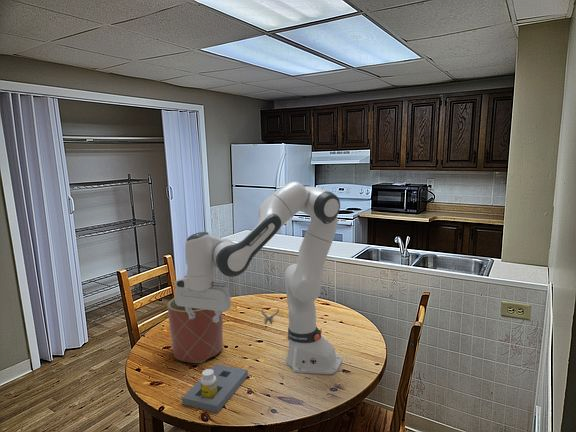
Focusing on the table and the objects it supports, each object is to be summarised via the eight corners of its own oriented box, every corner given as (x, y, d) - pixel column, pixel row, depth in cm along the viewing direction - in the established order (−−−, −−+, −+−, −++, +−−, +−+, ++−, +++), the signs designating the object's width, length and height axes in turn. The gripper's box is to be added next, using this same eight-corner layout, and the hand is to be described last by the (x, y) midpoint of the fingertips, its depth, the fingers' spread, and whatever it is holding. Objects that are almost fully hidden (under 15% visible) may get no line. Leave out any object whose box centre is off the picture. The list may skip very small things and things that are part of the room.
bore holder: (247, 375, 140) (247, 369, 140) (217, 413, 120) (217, 406, 120) (216, 369, 145) (215, 363, 145) (182, 404, 125) (181, 397, 125)
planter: (203, 370, 145) (199, 314, 141) (159, 359, 154) (155, 306, 151) (234, 344, 165) (232, 294, 162) (194, 335, 175) (191, 288, 171)
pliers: (277, 306, 205) (284, 321, 186) (277, 308, 206) (284, 323, 186) (260, 308, 204) (265, 323, 184) (260, 310, 204) (265, 325, 184)
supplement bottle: (198, 398, 128) (197, 372, 127) (212, 391, 132) (210, 365, 130) (207, 405, 124) (205, 378, 123) (220, 397, 128) (219, 371, 127)
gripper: (233, 280, 121) (235, 320, 123) (181, 275, 128) (184, 313, 130) (223, 286, 115) (226, 328, 117) (170, 281, 122) (173, 320, 124)
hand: (204, 320), depth 124 cm, fingers open, 8 cm apart
